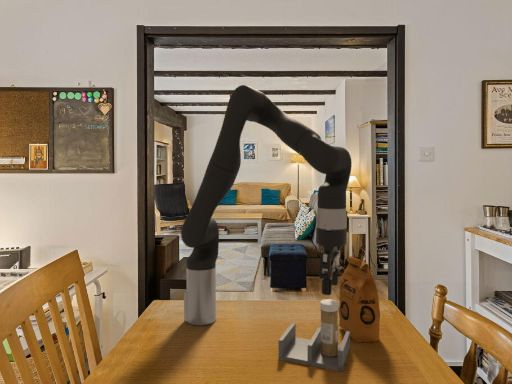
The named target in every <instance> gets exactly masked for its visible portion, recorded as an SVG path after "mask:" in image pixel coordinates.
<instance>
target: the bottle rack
mask: <svg viewBox="0 0 512 384" xmlns="http://www.w3.org/2000/svg"><path fill="white" fill-rule="evenodd" d="M296 325H297V323H296V322H291V324H290V325H289V326H288V327H287V329H286V330H285V331H284V332H283V333H282V335H281V337H280V338H279V339H278V357H277V358H278V360H279V361H285V362H290V363H296V364H301V365H306V366H310V367H316V368H321V369H327V370H331V371H336V372H343V371H344V369H345V365H346V362H347V360H348V358H349V353H350V351H351V337H350V331H346V332H345V334H344V336H343V338H342V341H341V342H340V344H339V343H338V354H337V355H336V356H332V357H329V356H325V355H323V354H322V353H321V326H318V327H317V329H316V330H315V332H314V334H313V335H312V337H311V338H310V339H308V338H302V337H297V336H296V332H297V331H296V329H297V326H296Z"/></svg>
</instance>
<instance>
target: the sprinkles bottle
mask: <svg viewBox="0 0 512 384" xmlns="http://www.w3.org/2000/svg"><path fill="white" fill-rule="evenodd" d="M319 303H320V304H319V307H320V308H319V309H320V327H321V353H322V354H323V355H325V356H329V357H332V356H336V355H337V354H338V344H339V323H338V321H339V320H338V319H339V310H338V308H339V302H338V301H337V300H335V299H331V298H330V299H329V298H328V299H327V298H326V299H325V298H324V299H321V301H319Z"/></svg>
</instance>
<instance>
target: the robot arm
mask: <svg viewBox="0 0 512 384" xmlns="http://www.w3.org/2000/svg"><path fill="white" fill-rule="evenodd" d="M246 122H252V123H257V124H259V125H261V126H263V127H266V128H267V129H269V130H271V131H272V132H273V133H274V134H275V135H276V136H277V138H278V139H279V140H280V141H281V142H282V143H284V144H285V145H286V146H287V147H288V148H290V149H292V150H293V151H294V152H295V153H297V154H298V155H300V156H302V158H303V159H304V160H305V161H306V163H308V164H309V166H311V168H313V169H314V170H316V172H319V173H321V174H323V175H325V178H324V182H323V184H321V185H320V186H319V187H318V190H317V209H316V217H315V218H316V219H315V220H316V221H315V243H316V245H318V246H320V247H321V246H322V247H323V252H321V253H320V254H319V274H318V275H319V276H318V277H319V279H321V294H322V295H324V296H325V295H326V296H331V295H332V291H333V290H332V286H337V285H338V284H339V270H340V267H341V249H342V247H344V246H346V245H347V227H348V226H347V223H348V217H347V208H346V207H347V189H348V185H349V181H350V178H351V171H352V156H351V155H350V152H349V151H348V150H347V149H346V148H344V147H342V146H336V145H330V144H328V143H326V142H325V141H323V140H322V138H321V136H320V135H319V134H318V133H317V132H316V131H315V130H313V129H311V128H310V127H308V126H307V125H305V124H304V123H302V122H300V121H298V120H297V119H296V118H293V117H292V116H291V115H289V114H287V113H285V112H284V110H281V108H279V107H278V105H276V104H275V103H274V102H273V101H272V100H271V99H270V98H269V96H267V95H266V94H265V93H264V92H262V91H261V90H258V89H256V88H254V87H252V86H250V85H245V84H242V85H239V86H237V87H236V88H235V89H234V90H233V91H232V93H231V95H230V97H229V100H228V103H227V106H226V110H225V113H224V117H223V121H222V126H221V128H220V132H219V134H218V138H217V140H216V143H215V146H214V149H213V151H212V154H211V156H210V159H209V161H208V163H207V167H206V170H205V172H204V175H203V178H202V181H201V184H200V185H199V189H198V191H197V194H196V196H195V199H194V201H193V203H192V206H191V207H190V209H189V212H187V213H188V214H187V215H186V217H185V219H184V222H183V223H182V227H181V231H180V232H181V233H180V236H181V237H180V238H181V240H182V243H183V244H184V245H185V246H186V247H189V249H190V248H192V252H191V253H190V254H189V256H188V257H187V259H186V265H185V266H186V267H185V268H186V273H185V274H186V290H185V291H184V292H183V316H184V317H183V321H184V322H186V323H188V324H190V325H192V326H208V325H210V324H213V323H214V322H216V321H217V279H216V277H217V273H216V271H217V269H216V268H217V266H216V265H217V260H218V256H219V247H220V245H219V243H220V242H219V241H220V230H219V226H218V223H217V222H216V220H215V219H214V217H213V214H214V213H215V210H216V209H217V207H218V206H219V205H220V204H221V202H222V201H223V200H224V198H225V197H226V196H227V195H228V193H229V191H230V190H231V189H232V188H233V185H234V183H235V181H236V179H237V176H238V174H239V172H240V167H241V165H242V163H241V162H242V161H241V160H242V159H241V158H242V157H241V156H242V155H241V137H242V133H243V130H244V127H245V125H246ZM325 272H327V273H325Z"/></svg>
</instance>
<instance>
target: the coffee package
mask: <svg viewBox="0 0 512 384" xmlns="http://www.w3.org/2000/svg"><path fill="white" fill-rule="evenodd" d="M346 261H347V262H348V264H347V266H346V268H345V270H344V271H343V273H342V275H341V277H340V280H339V292H338V293H339V295H338V296H339V298H338V300H339V302H338V319H339V320H338V321H339V323H338V327H340V328H341V329H342V330H343V331H344V332H345V333H346V331H350V338H351V339H353V340H354V341H355V343H368V342H371V343H372V342H373V343H375V342H378V341H380V321H381V320H380V319H381V309H380V300H379V299H380V298H379V292H378V288H377V285H376V284H377V283H376V280H375V279H374V276H373V273H372V271H371V269H370V266H369V264H368V263H366V262H365V261H364V260H362V259H359V258H357V257H355V256H348V257H347V258H346Z"/></svg>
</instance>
